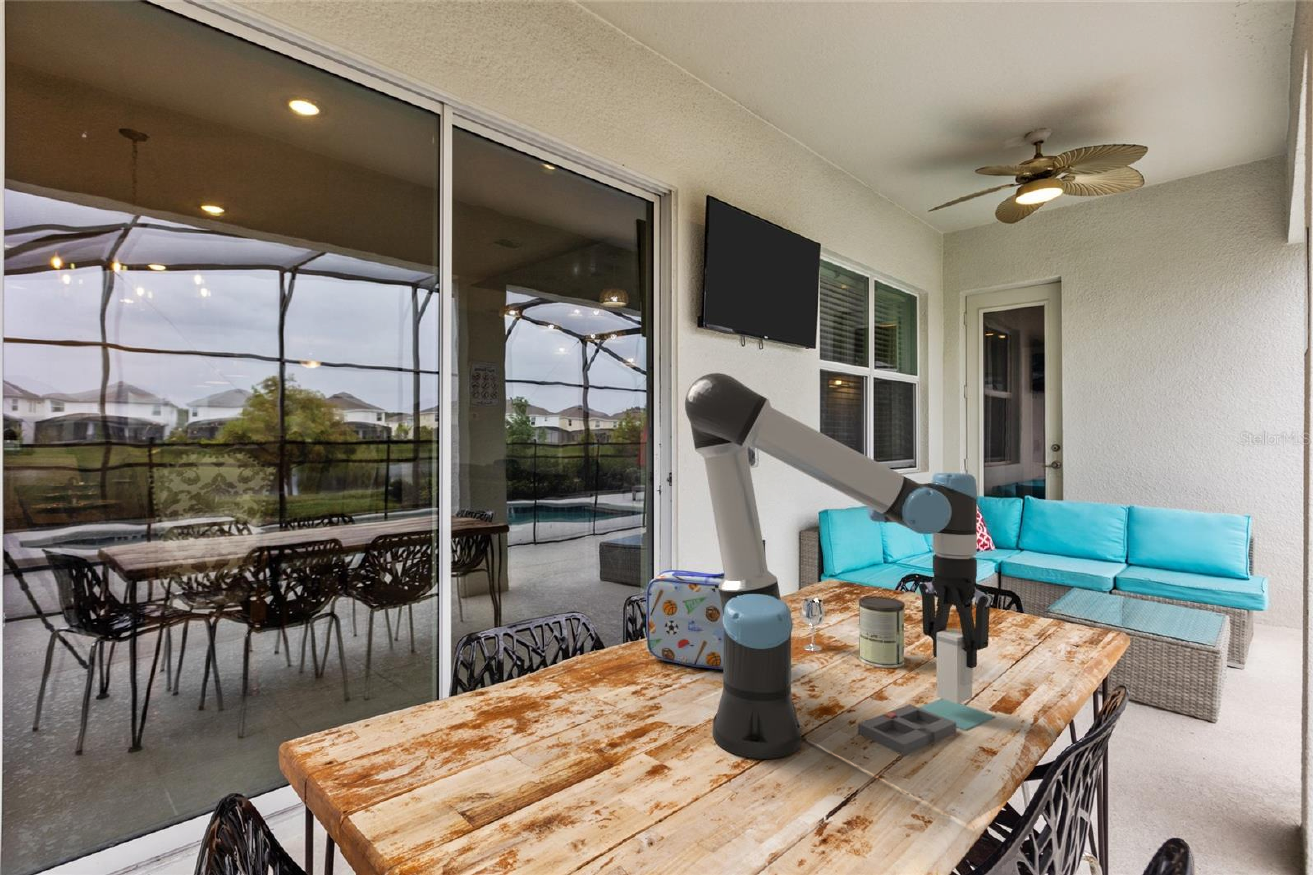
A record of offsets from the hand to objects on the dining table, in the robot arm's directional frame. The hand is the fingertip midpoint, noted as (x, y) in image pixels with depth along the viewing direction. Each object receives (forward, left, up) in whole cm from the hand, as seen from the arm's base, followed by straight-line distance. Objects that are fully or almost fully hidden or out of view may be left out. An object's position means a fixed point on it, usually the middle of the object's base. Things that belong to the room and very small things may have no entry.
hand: (954, 679), depth 115 cm
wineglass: (+8, +42, -7) cm, 43 cm away
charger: (0, 0, -3) cm, 3 cm away
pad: (0, 0, -7) cm, 7 cm away
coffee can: (+15, +27, -7) cm, 32 cm away
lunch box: (-22, +48, -7) cm, 53 cm away
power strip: (-15, 0, -7) cm, 16 cm away
